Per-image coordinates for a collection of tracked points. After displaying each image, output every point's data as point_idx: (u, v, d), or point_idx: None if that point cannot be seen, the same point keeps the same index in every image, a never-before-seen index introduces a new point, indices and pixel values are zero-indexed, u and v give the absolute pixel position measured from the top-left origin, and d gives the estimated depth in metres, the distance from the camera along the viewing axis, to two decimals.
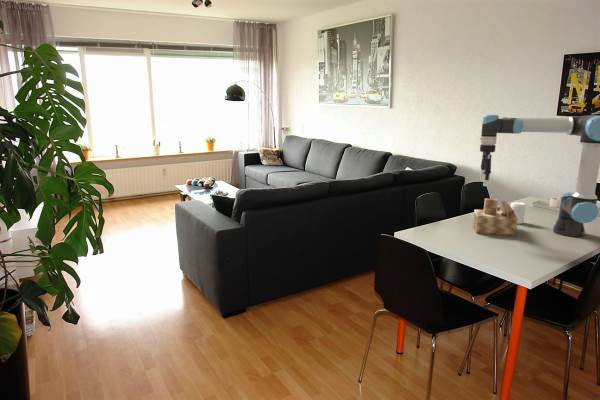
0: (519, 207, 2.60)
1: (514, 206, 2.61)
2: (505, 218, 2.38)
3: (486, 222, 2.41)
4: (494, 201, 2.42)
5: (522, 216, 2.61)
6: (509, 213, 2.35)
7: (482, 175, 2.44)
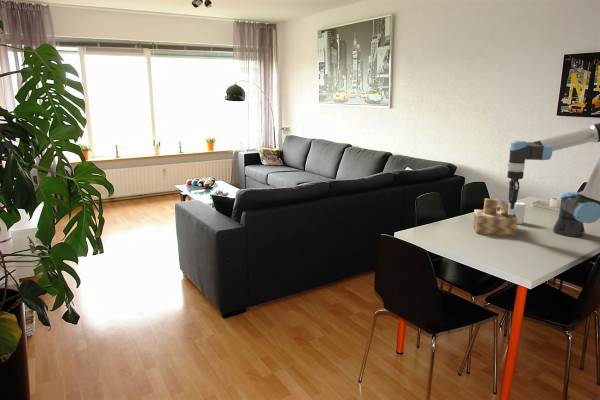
0: (519, 207, 2.60)
1: None
2: (505, 218, 2.38)
3: (486, 222, 2.41)
4: (494, 201, 2.42)
5: (522, 216, 2.61)
6: None
7: None
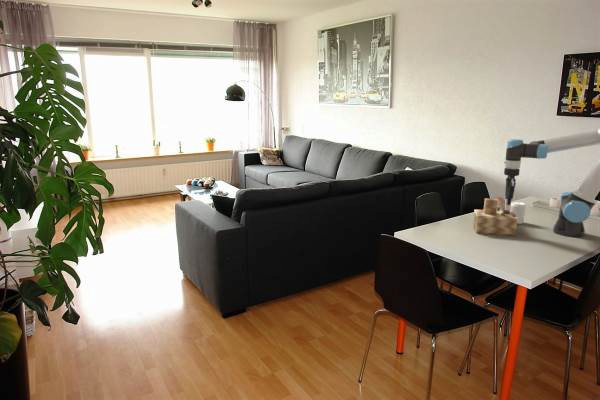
0: (519, 207, 2.60)
1: (514, 206, 2.61)
2: (505, 218, 2.38)
3: (486, 222, 2.41)
4: (494, 201, 2.42)
5: (522, 216, 2.61)
6: None
7: None
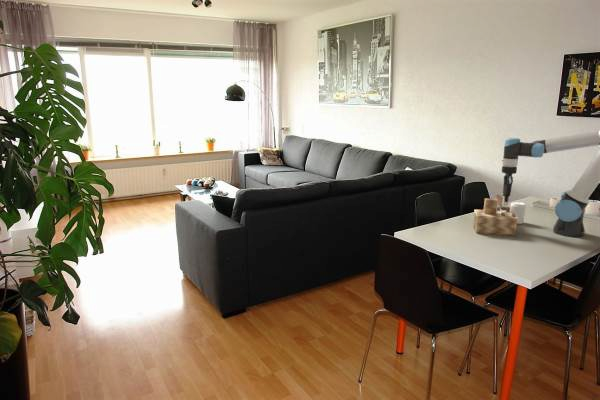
0: (519, 207, 2.60)
1: (514, 206, 2.61)
2: (505, 218, 2.38)
3: (486, 222, 2.41)
4: (494, 201, 2.42)
5: (522, 216, 2.61)
6: None
7: None
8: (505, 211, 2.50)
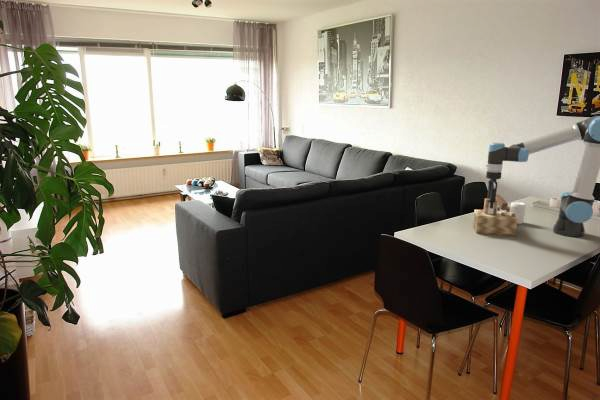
0: (519, 207, 2.60)
1: (514, 206, 2.61)
2: (505, 218, 2.38)
3: (486, 222, 2.41)
4: None
5: (522, 216, 2.61)
6: (503, 205, 2.52)
7: None
8: (505, 211, 2.50)
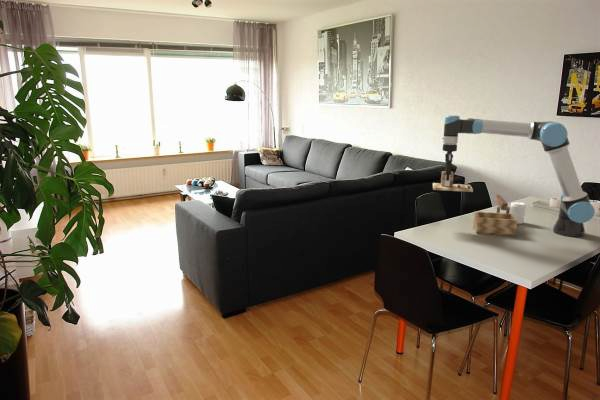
0: (519, 207, 2.60)
1: (514, 206, 2.61)
2: (460, 190, 2.41)
3: (486, 222, 2.41)
4: None
5: (522, 216, 2.61)
6: (503, 205, 2.52)
7: None
8: (462, 184, 2.53)
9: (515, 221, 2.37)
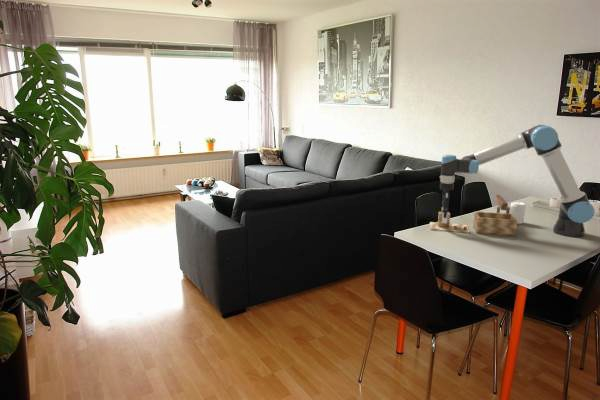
0: (519, 207, 2.60)
1: (514, 206, 2.61)
2: (457, 231, 2.46)
3: (486, 222, 2.41)
4: None
5: (522, 216, 2.61)
6: (503, 205, 2.52)
7: None
8: (459, 224, 2.59)
9: (515, 221, 2.37)
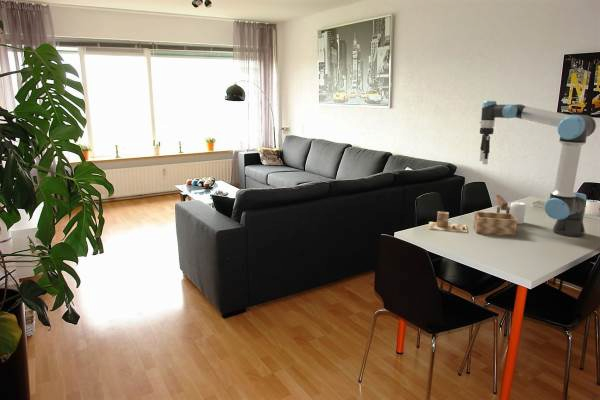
0: (519, 207, 2.60)
1: (514, 206, 2.61)
2: (455, 231, 2.46)
3: (486, 222, 2.41)
4: (445, 214, 2.51)
5: (522, 216, 2.61)
6: (503, 205, 2.52)
7: (481, 155, 2.73)
8: (458, 224, 2.59)
9: (515, 221, 2.37)
